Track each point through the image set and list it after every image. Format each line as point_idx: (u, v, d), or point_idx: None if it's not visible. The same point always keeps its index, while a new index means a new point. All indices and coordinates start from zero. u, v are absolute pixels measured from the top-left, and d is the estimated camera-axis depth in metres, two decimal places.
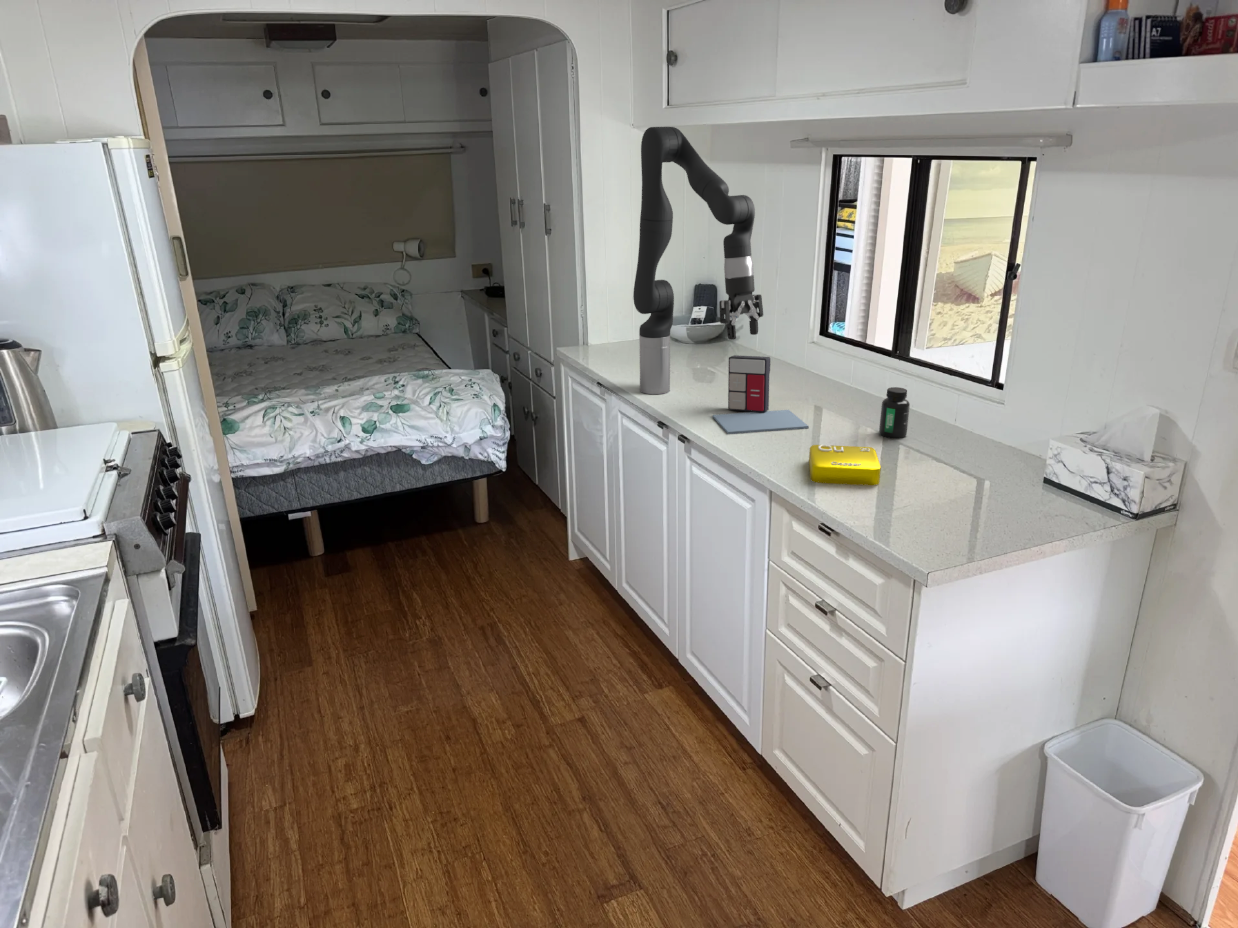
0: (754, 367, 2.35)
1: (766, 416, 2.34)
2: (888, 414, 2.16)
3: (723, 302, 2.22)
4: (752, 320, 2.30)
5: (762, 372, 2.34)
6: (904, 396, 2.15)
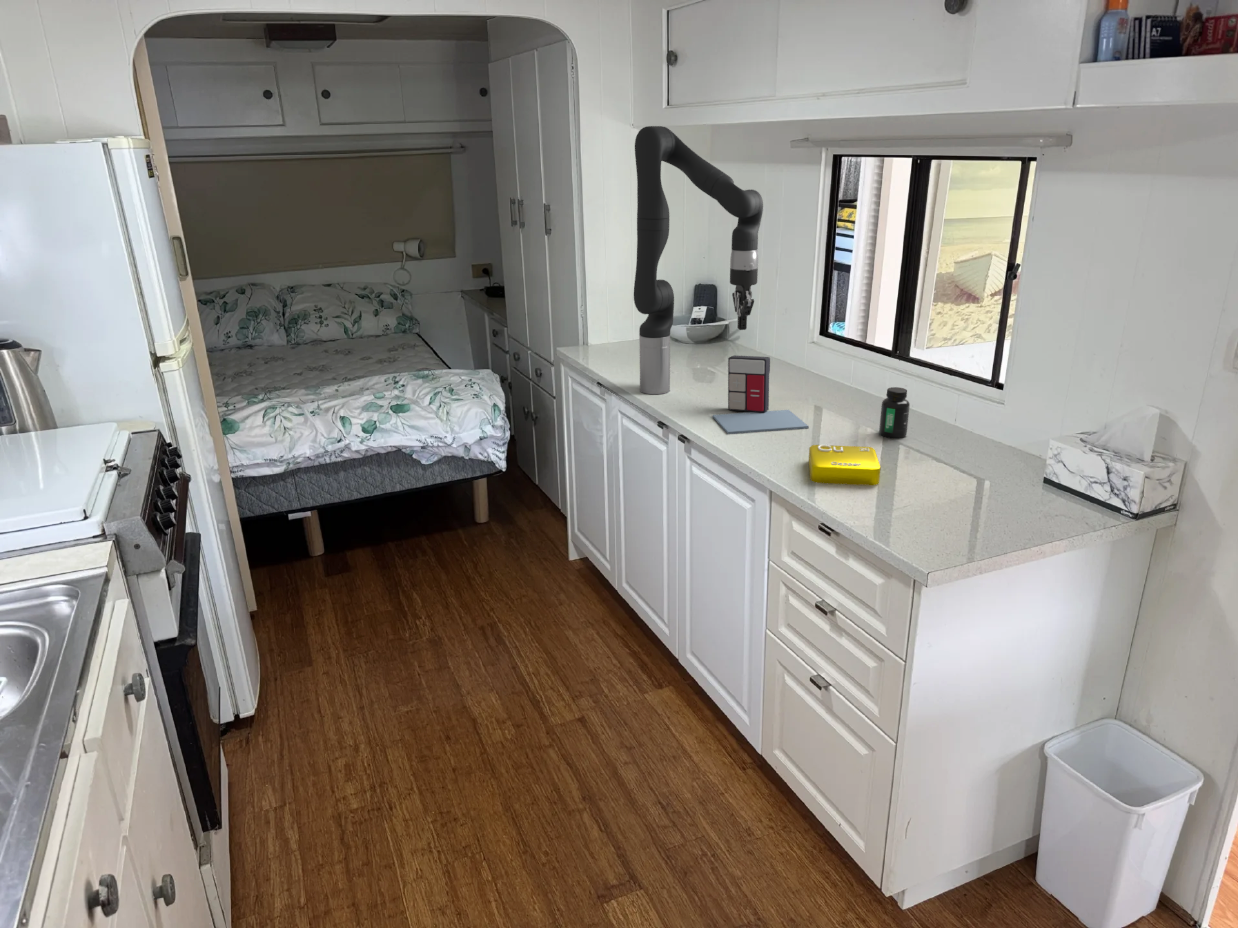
0: (753, 367, 2.35)
1: (766, 416, 2.34)
2: (888, 414, 2.16)
3: (750, 302, 2.32)
4: None
5: (762, 372, 2.34)
6: (904, 396, 2.15)
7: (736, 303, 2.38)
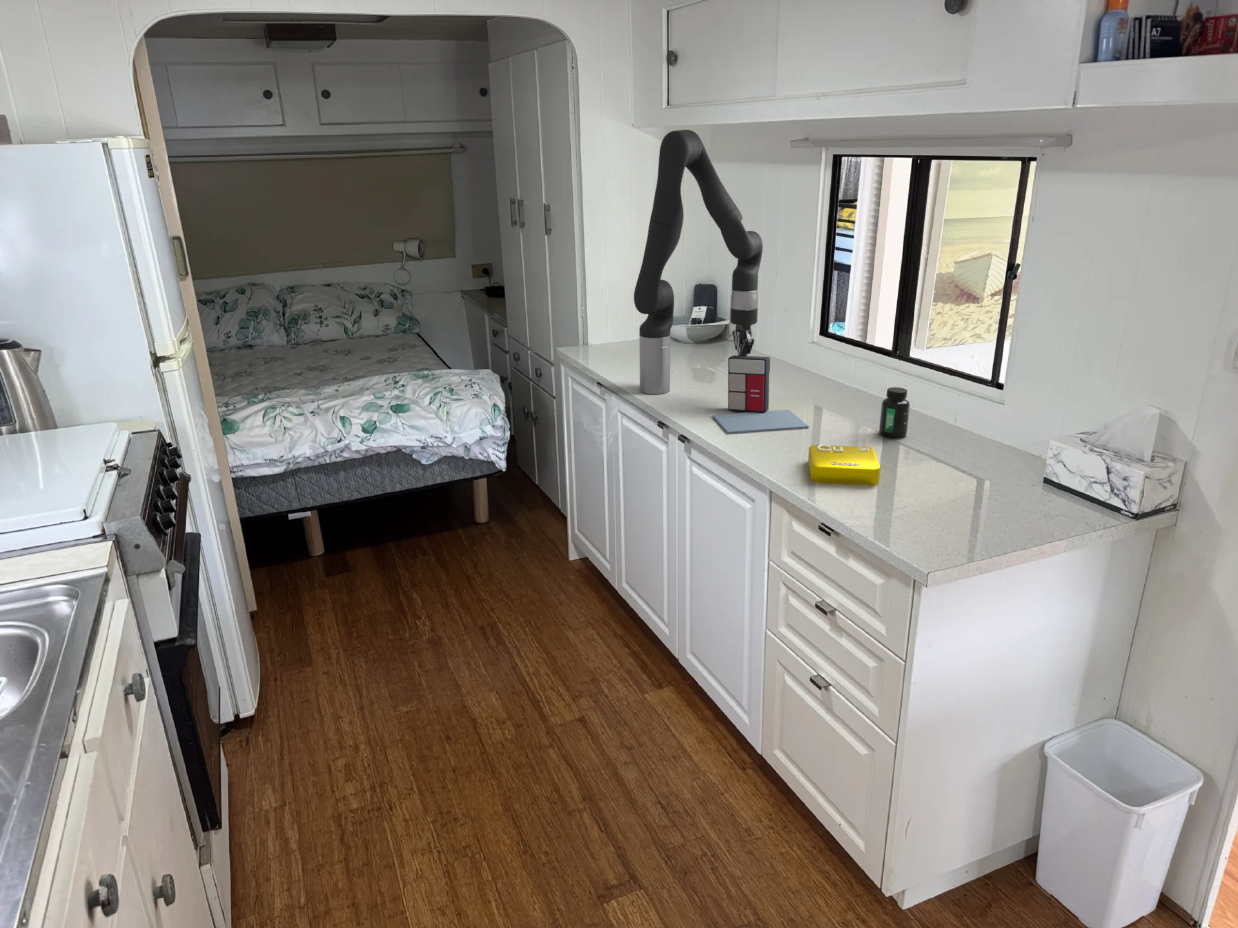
0: (753, 367, 2.35)
1: (766, 416, 2.34)
2: (888, 414, 2.16)
3: (750, 342, 2.35)
4: None
5: (762, 372, 2.34)
6: (904, 396, 2.15)
7: (736, 341, 2.41)
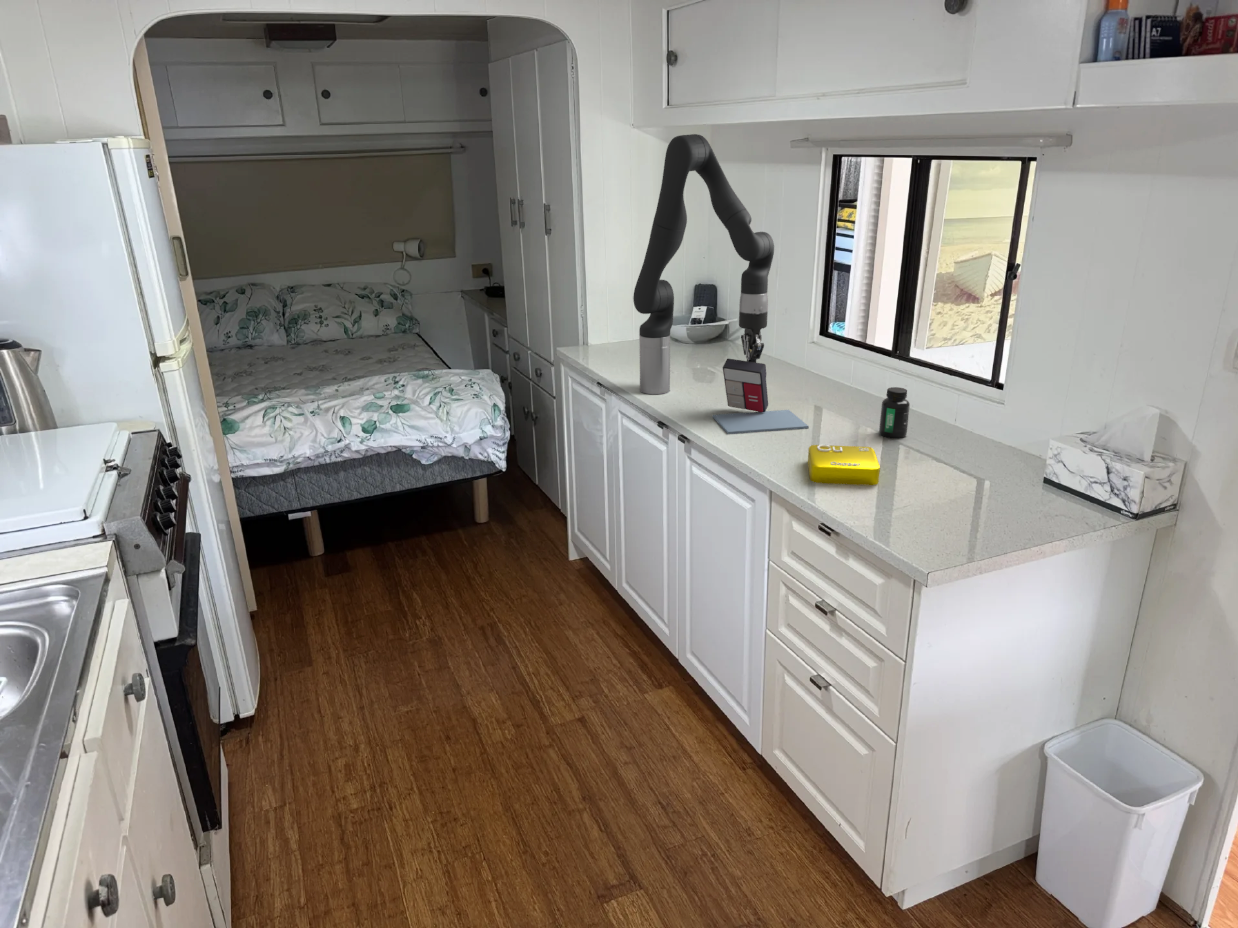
0: (749, 378, 2.29)
1: (766, 416, 2.34)
2: (888, 414, 2.16)
3: (760, 346, 2.27)
4: None
5: (758, 383, 2.29)
6: (904, 396, 2.15)
7: (745, 346, 2.33)
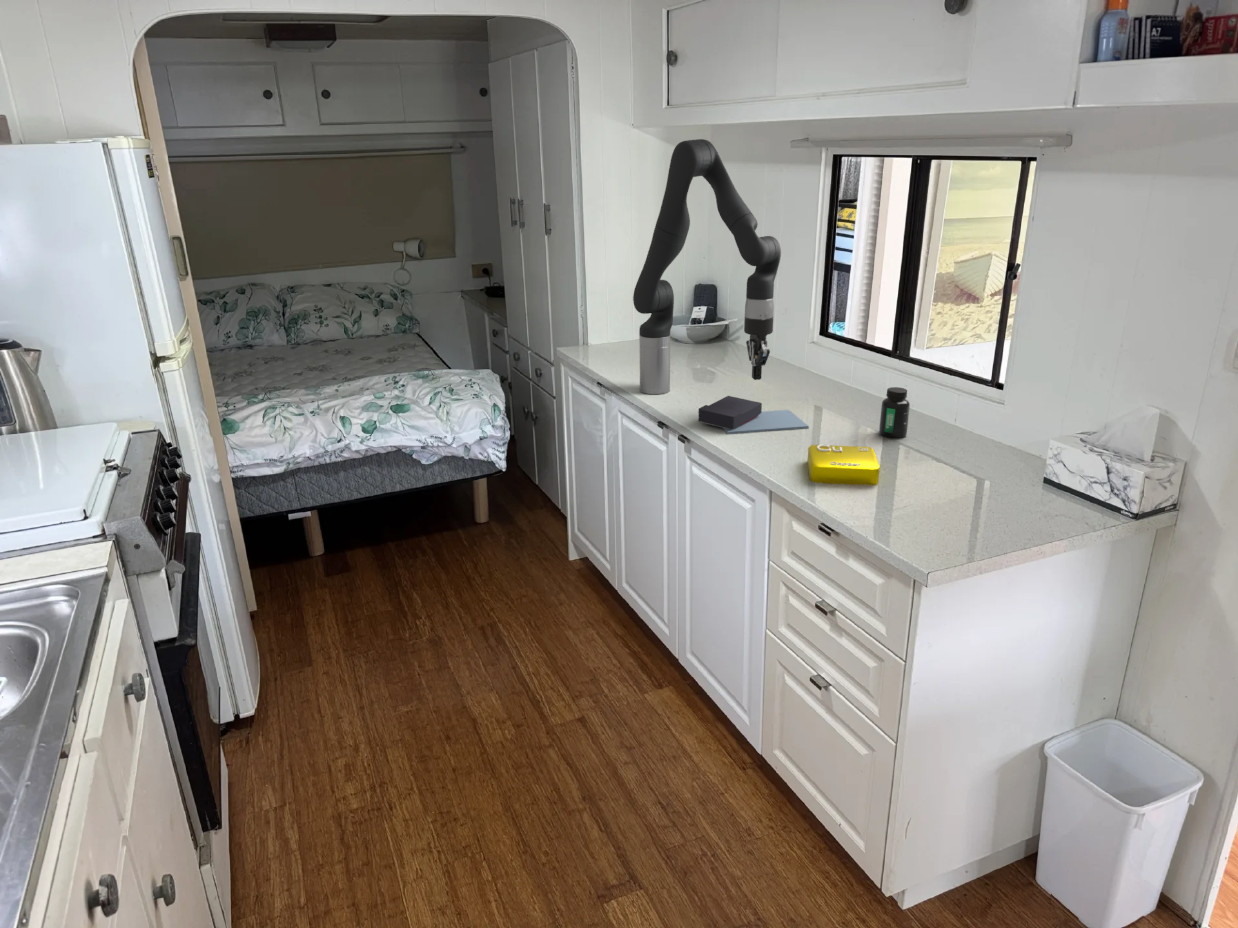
0: None
1: (766, 416, 2.34)
2: (888, 414, 2.16)
3: (766, 353, 2.23)
4: None
5: None
6: (904, 396, 2.15)
7: (750, 352, 2.29)
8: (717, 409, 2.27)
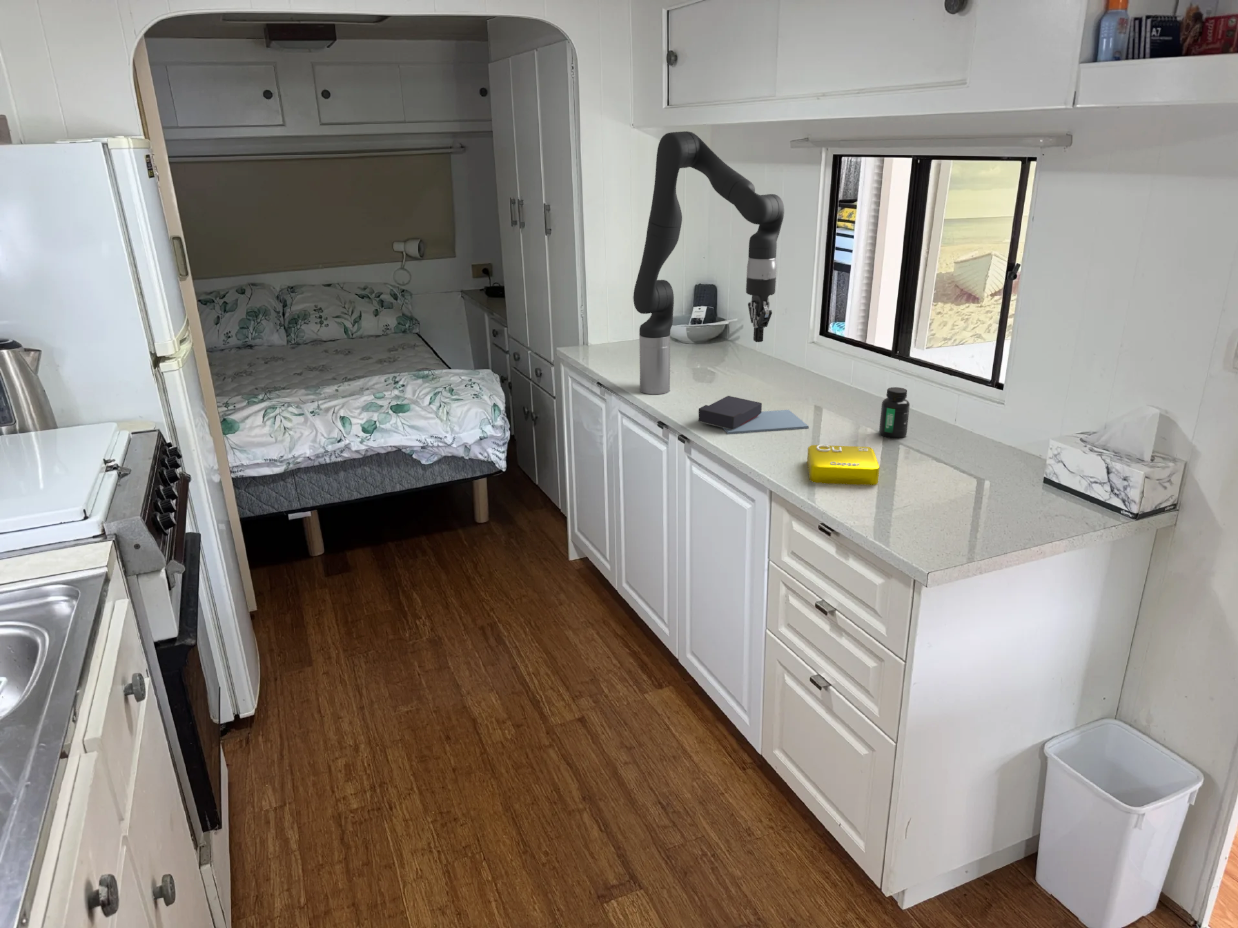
0: None
1: (766, 416, 2.34)
2: (888, 414, 2.16)
3: (768, 314, 2.19)
4: None
5: None
6: (904, 396, 2.15)
7: (752, 314, 2.25)
8: (717, 409, 2.27)
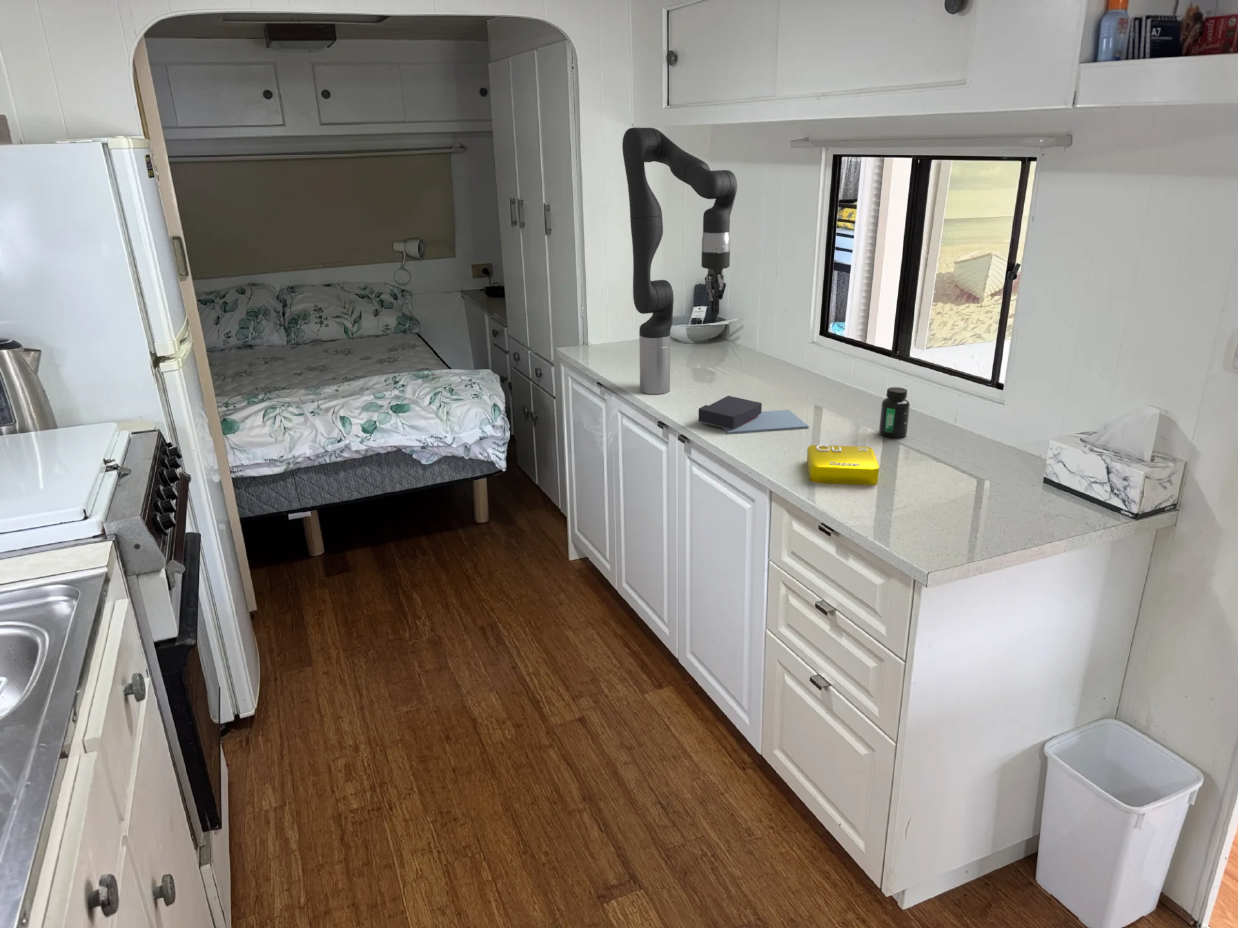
0: None
1: (766, 416, 2.34)
2: (888, 414, 2.16)
3: (722, 286, 2.26)
4: None
5: None
6: (904, 396, 2.15)
7: (708, 287, 2.32)
8: (717, 409, 2.27)
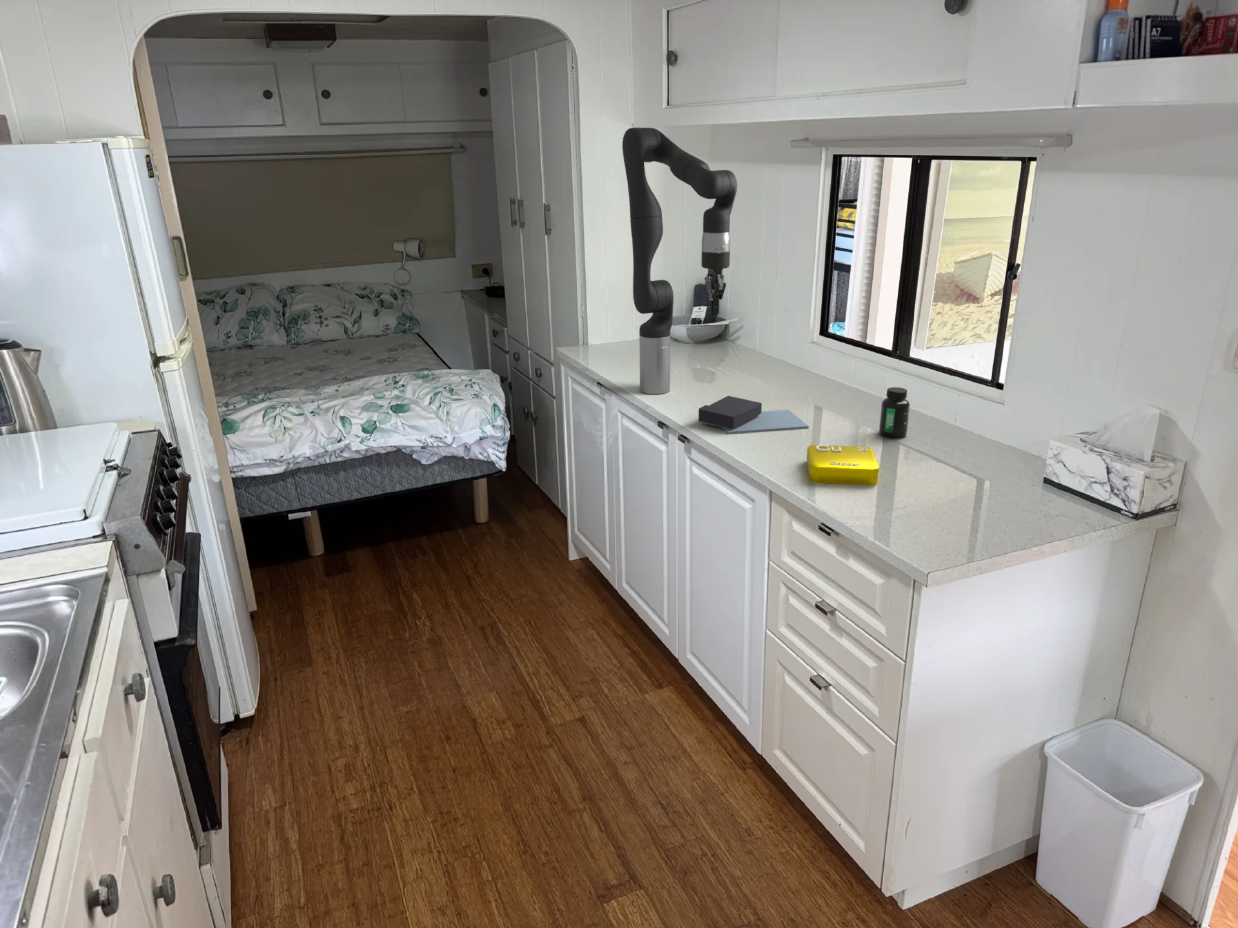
0: None
1: (766, 416, 2.34)
2: (888, 414, 2.16)
3: (722, 286, 2.26)
4: None
5: None
6: (904, 396, 2.15)
7: (708, 287, 2.32)
8: (717, 409, 2.27)
